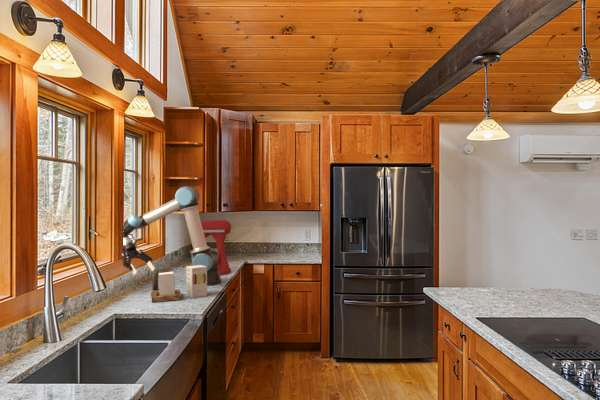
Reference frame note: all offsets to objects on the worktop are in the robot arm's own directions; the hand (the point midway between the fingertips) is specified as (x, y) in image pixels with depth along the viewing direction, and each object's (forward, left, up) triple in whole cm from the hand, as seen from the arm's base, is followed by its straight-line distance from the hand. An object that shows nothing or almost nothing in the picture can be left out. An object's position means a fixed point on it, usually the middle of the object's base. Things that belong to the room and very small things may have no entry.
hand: (145, 272), depth 239 cm
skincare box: (-13, +23, -13) cm, 29 cm away
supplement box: (-29, +20, -13) cm, 37 cm away
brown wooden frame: (-12, +16, -12) cm, 23 cm away
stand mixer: (-44, -49, -13) cm, 66 cm away
